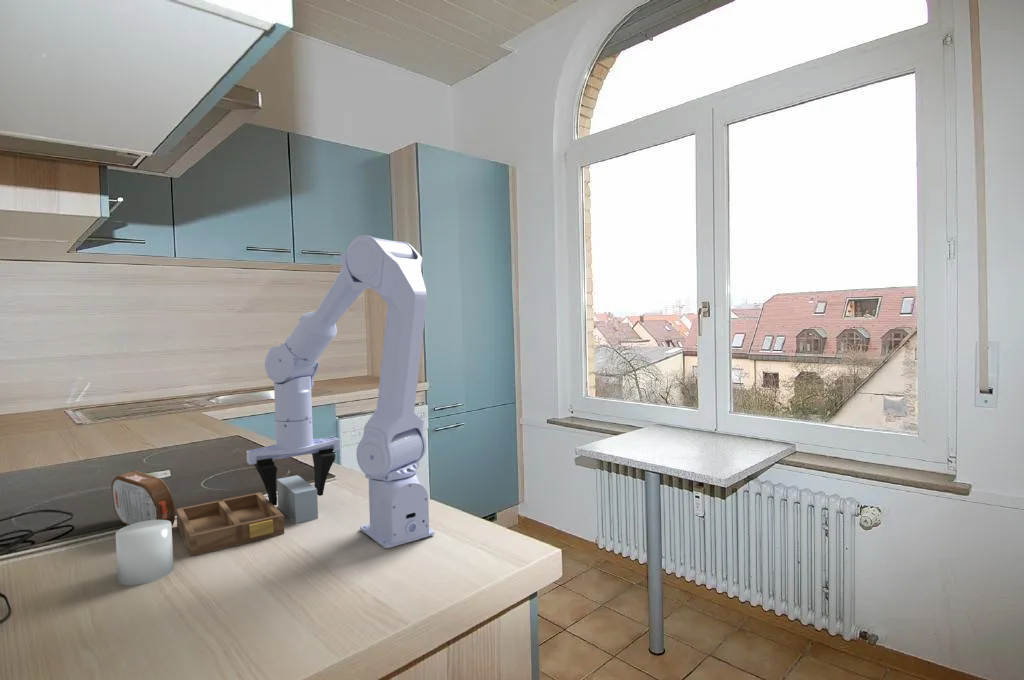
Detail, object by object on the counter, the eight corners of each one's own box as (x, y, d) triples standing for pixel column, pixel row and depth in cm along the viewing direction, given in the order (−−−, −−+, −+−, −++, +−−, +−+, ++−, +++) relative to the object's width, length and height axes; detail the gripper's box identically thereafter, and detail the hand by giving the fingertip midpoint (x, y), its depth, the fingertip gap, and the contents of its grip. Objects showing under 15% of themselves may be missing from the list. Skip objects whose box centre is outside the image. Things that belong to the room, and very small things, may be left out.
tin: (178, 534, 85) (175, 479, 84) (156, 541, 82) (153, 485, 82) (130, 516, 93) (128, 466, 92) (109, 522, 90) (106, 471, 90)
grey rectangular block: (318, 519, 90) (317, 489, 90) (296, 524, 88) (294, 493, 88) (298, 503, 98) (297, 475, 98) (278, 507, 96) (276, 479, 96)
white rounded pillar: (176, 575, 71) (174, 529, 71) (119, 590, 68) (116, 542, 67) (170, 559, 76) (168, 516, 76) (116, 572, 72) (114, 527, 72)
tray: (285, 534, 84) (284, 516, 84) (191, 558, 76) (190, 538, 76) (260, 508, 95) (260, 492, 95) (177, 526, 88) (176, 508, 88)
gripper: (328, 409, 100) (330, 484, 101) (240, 420, 91) (244, 501, 92) (343, 415, 94) (345, 494, 95) (251, 427, 85) (254, 514, 86)
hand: (296, 498), depth 93 cm, fingers open, 7 cm apart
